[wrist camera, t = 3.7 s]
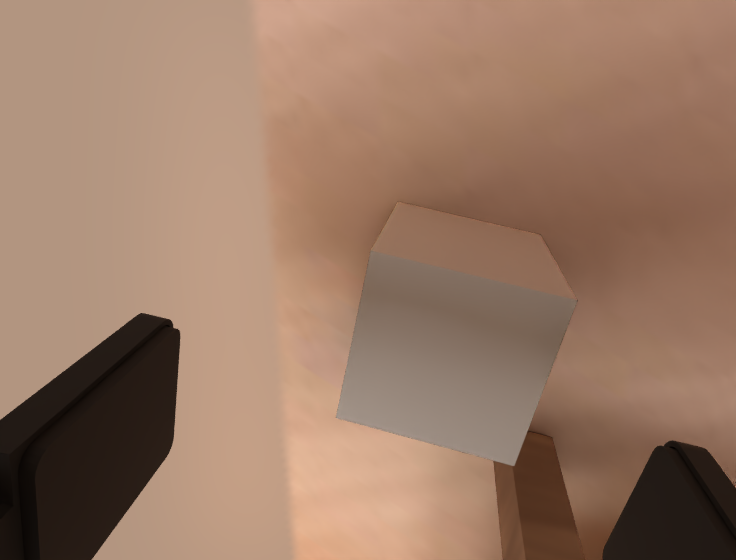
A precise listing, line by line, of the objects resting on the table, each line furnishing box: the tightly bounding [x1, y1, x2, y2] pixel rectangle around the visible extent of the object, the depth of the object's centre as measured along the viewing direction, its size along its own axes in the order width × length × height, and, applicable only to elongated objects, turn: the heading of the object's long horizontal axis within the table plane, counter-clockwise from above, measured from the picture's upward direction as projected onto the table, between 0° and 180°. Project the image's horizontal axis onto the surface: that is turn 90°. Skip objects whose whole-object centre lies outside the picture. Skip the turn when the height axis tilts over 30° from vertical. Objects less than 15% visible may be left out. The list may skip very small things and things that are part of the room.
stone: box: [336, 202, 578, 466], centre depth 16 cm, size 5×5×6 cm
